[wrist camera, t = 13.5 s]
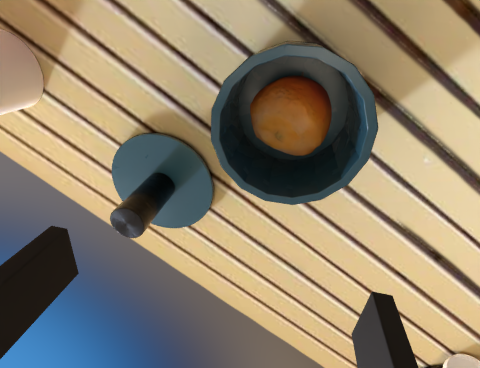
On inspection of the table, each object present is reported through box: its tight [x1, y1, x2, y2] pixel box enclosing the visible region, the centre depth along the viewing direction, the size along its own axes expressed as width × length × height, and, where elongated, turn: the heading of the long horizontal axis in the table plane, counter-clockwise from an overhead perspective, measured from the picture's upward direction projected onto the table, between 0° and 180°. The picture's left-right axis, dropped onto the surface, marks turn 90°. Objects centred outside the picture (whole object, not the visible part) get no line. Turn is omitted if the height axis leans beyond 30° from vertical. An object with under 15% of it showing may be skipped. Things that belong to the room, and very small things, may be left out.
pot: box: [211, 41, 378, 205], centre depth 28 cm, size 14×14×10 cm
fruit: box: [250, 72, 332, 156], centre depth 29 cm, size 8×8×8 cm
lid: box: [110, 133, 213, 238], centre depth 35 cm, size 15×15×10 cm
